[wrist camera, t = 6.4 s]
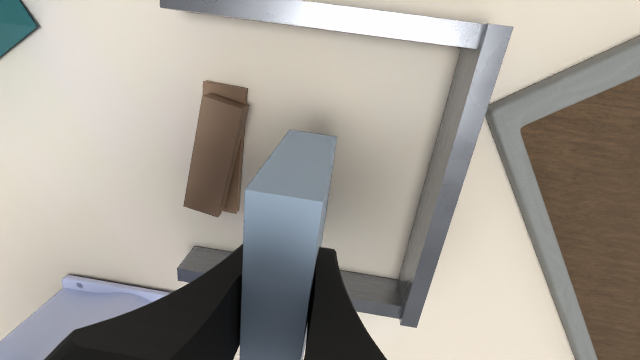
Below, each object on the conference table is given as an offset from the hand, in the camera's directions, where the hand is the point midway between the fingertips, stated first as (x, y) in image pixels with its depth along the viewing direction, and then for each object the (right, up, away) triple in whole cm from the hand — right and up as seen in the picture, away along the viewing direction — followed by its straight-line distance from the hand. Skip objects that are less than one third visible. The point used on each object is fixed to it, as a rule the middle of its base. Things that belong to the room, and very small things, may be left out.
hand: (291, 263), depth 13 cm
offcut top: (-5, +5, +7) cm, 10 cm away
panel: (0, +1, +3) cm, 3 cm away
